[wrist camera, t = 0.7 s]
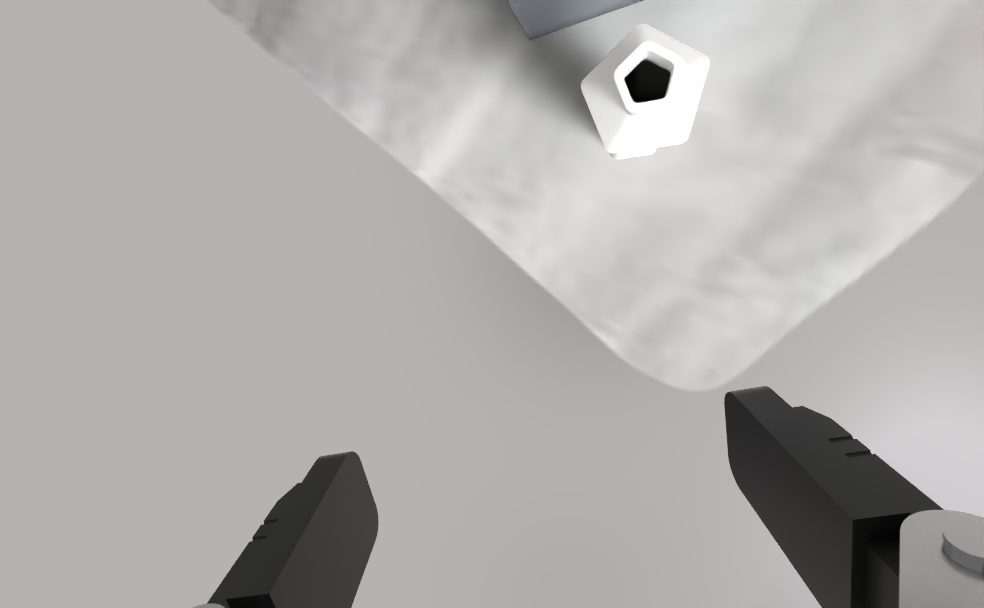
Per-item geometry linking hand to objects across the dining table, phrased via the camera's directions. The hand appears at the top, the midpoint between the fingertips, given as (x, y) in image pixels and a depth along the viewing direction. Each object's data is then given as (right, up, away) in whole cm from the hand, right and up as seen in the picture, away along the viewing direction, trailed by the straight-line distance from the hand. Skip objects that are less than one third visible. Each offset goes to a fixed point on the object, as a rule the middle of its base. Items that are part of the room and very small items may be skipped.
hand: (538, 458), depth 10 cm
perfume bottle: (+8, +14, +19) cm, 25 cm away
